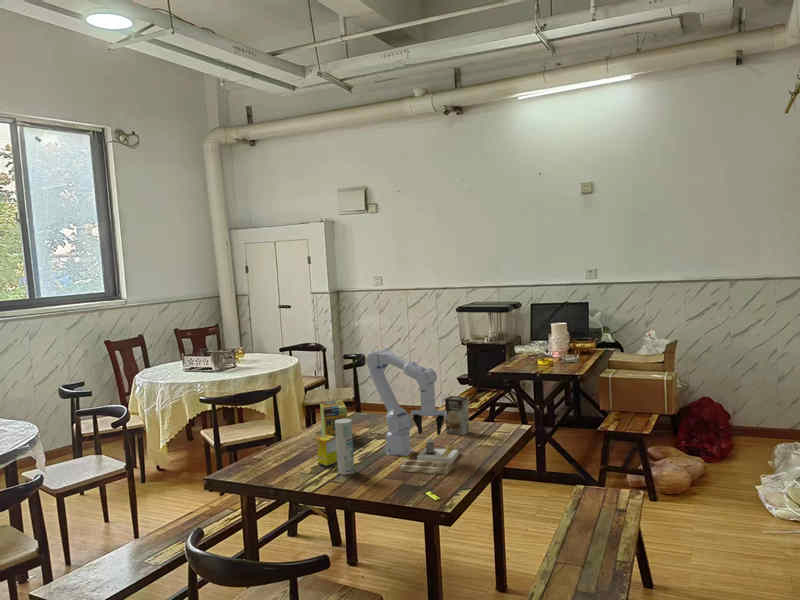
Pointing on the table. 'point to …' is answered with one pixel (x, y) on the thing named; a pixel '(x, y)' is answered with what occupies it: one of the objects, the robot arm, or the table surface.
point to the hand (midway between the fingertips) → (429, 433)
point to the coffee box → (457, 415)
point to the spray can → (344, 446)
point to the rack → (426, 466)
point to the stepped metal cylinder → (430, 447)
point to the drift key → (449, 449)
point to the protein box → (331, 415)
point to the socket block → (438, 456)
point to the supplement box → (327, 450)
